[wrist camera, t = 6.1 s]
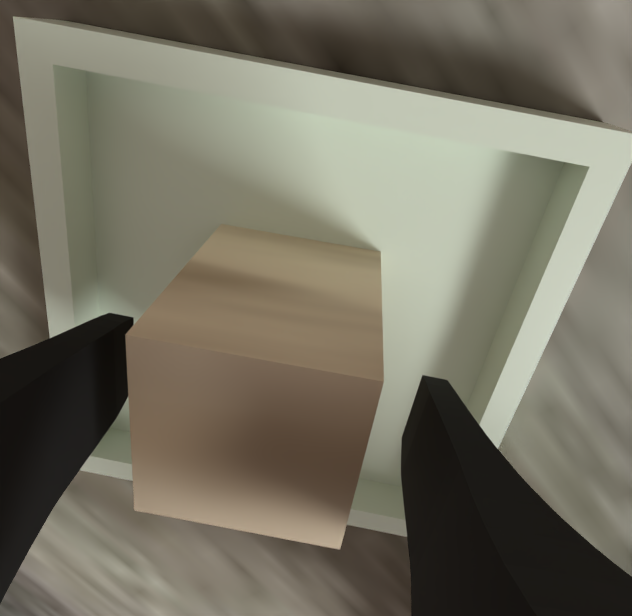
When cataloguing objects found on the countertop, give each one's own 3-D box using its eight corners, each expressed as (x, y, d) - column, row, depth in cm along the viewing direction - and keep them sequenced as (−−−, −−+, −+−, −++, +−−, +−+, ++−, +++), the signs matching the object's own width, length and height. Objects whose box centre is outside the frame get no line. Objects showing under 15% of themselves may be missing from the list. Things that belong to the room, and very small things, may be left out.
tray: (445, 498, 19) (452, 546, 17) (93, 427, 19) (64, 467, 17) (604, 122, 12) (644, 135, 10) (64, 20, 12) (12, 16, 11)
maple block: (351, 381, 16) (339, 549, 11) (214, 356, 16) (134, 510, 11) (380, 251, 14) (383, 381, 8) (221, 223, 14) (125, 334, 8)
